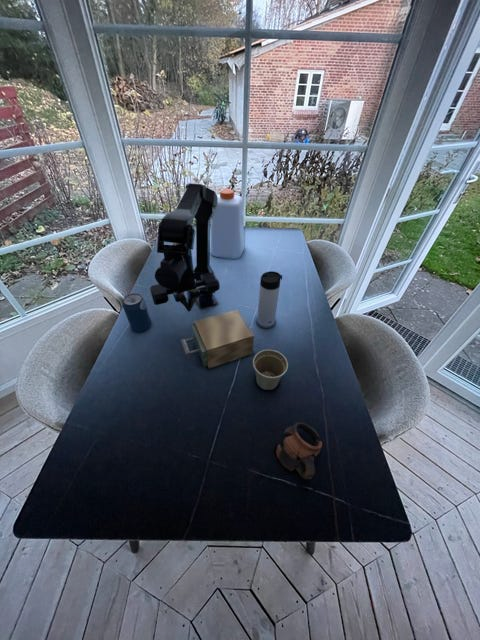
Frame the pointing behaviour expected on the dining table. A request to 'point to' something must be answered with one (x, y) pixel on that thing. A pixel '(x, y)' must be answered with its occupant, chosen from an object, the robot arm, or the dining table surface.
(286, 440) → the pottery mug
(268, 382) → the flower pot
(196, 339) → the drawer
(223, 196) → the plastic bottle
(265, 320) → the travel mug
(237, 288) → the dining table surface
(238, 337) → the cabinet
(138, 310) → the soda can
